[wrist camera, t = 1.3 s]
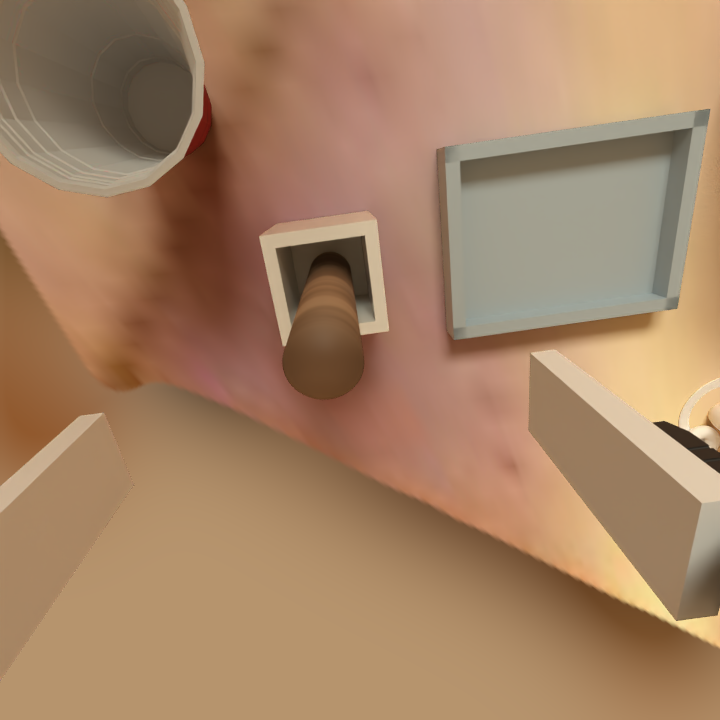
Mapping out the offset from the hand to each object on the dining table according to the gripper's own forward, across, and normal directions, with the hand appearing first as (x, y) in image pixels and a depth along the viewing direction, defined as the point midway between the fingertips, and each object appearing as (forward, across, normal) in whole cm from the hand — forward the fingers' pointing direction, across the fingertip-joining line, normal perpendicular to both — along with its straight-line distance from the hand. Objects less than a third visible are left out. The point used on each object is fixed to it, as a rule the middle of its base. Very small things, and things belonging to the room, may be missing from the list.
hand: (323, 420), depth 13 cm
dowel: (+22, 0, 0) cm, 22 cm away
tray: (+23, +18, +1) cm, 29 cm away
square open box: (+23, 0, +1) cm, 23 cm away
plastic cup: (+23, -9, +13) cm, 28 cm away
